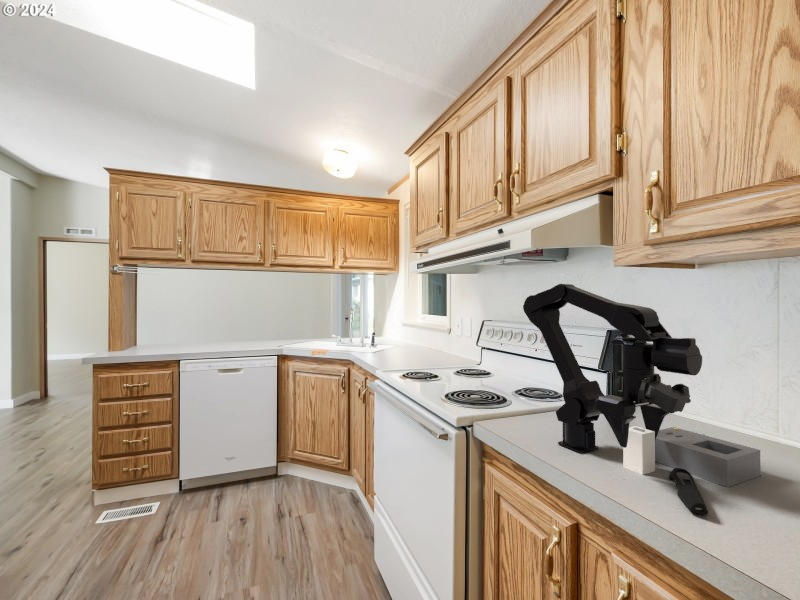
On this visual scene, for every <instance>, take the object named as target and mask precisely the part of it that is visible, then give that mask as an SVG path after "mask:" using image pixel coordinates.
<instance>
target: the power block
mask: <svg viewBox="0 0 800 600" xmlns="http://www.w3.org/2000/svg"><path fill="white" fill-rule="evenodd" d="M655 463H657V464H658V463H659V464H662V465H664V466H667V467H670V468H673V469H674V468H681V469H685V470H687V471H688V472H689V473H690V474H691V475H692V476H695V477H698V478H699V479H700V478H701V479H703V480H706V481H709V482H712V483H714V484H718V485H720V486H723V487H726V488H729V487H732V486H736V485H739V484H741V483H743V482H746V481H748V480H752V479H754V478H757V477H760V476H761V472H762V471H761V449H758V448H753V447H750V446H747V445H744V444H743V445H742V444H739V443H736V442H732V441H727V440H724V439H720V438H716V437H712V436H709V435H705V434H701V433H698V432H694V431H690V430H686V429H683V428H679V427H675V426H672V427H668V428H662V429H659V432H658V435H657V437H656V440H655Z"/></svg>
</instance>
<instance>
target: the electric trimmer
mask: <svg viewBox="0 0 800 600" xmlns="http://www.w3.org/2000/svg"><path fill="white" fill-rule="evenodd" d="M668 479H669V481H673V482H674V483H675V484H676V487H677V492H676V494H677V497H678V499H679V500H680V501H681V502H682V504H683V505H684V506H685V507H686V509H687V510H688V511H689V512H690V513H695V514H699V515H704V516H706V515H708V513H709V510H708V507H707V505H706V502H705V500H704V497H703V496H702V494H701V492H700V491H699V488H698V486H697V483H696V482H695V479H694V477H693V475H692V474H690V473H689V472H688V471H687V470H685V469H681V468H673V469H672V470H671V471H670V472H669V475H668Z"/></svg>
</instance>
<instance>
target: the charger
mask: <svg viewBox="0 0 800 600" xmlns="http://www.w3.org/2000/svg"><path fill="white" fill-rule="evenodd" d="M622 449H623V450H622V452H623V454H622V458H623V464H622V467H623V469H624V468H625V469H627V470H629V471H632V472H634V473H636V474H640V475H642V476H643V475H647V474H650V473H653V472H656V462H655V432H654V431H651V430H647V429H646V428H643V427H640V426H636V425H634V426H629V433H628V442H627V447H626V448H624V447H622Z"/></svg>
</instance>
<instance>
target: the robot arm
mask: <svg viewBox="0 0 800 600" xmlns="http://www.w3.org/2000/svg"><path fill="white" fill-rule="evenodd" d="M567 304H570V305H572V306H575V307H576V308H577V307H578V308H580V309H582V310H584V311H586V312H588V313H592V314H594V315H596V316H599V317H600V318H603V319H604V320H605V321H606V322H607V323H608V324H609V325H610V326H612V327H613V328H615V329H616V330H617V331H619V332H620V333H618V335H617V336H616V337H614V339H612V340H611V342H610V343H611V344H612V345H620V346H621V370H617V371H616V376H617V377H621V389H620V390H617V391H616V392H617V394H616V395H612V394H606V395H605V394H604V393H603V391H602V389H601V387H600V384H599V382H598V381H597V380H592V381H591V380H589V379H588V378H587V377H586V376H585V375H584V372H583V371H582V368H581V367H580V366H581V365H580V364H579V362H578V360H577V358H576V356H575V354H574V352H573V350H572V348H571V345H570V344H569V341H568V340H567V337H566V335H565V333H564V330H563V329H562V327H561V324H560V318H561V317H560V316H561V313H560V309H562V308H564V307H565V306H566V305H567ZM522 308H523V312H524V314H525V315H526V317H527V318H528V320H529V322H530V323H531V324H533V325H534V326H535V327H536V328H537V329H538V330H539V332H540V334H541V335H542V338H543V339H544V341H545V344H546V346H547V349H548V350H549V354H550V355H551V358H552V360H553V362H554V365H555V366H556V369H557V371H558V373H559V376H560V378H561V381H562V383H563V386H562V387H563V388H562V397H563V401H564V404H562V405H561V406H560V407H559V408H558V409H557V410H556V411H555V414H556V419H557V421H558V422H561V423H562V440H561V441H558V442H557V444H558V445H559V446H561V447H564V448H567V449H569V450H571V451H575V452H576V453H578V454H581V453H588V452H591V451H595V450H599V446H597V445H596V430H595V423H594V422H597V421H598V420H599V418H600V415H603V417H604V418H605V420H606V421H607V423H608V424H609V426H610V428H611V430H612V432H613V434H614V436H615V438H616V440H617V442H618V445H619V446H620V447H622V448H623V447H624V448H626V447H627V442H628V433H629V427H630V423H631V422H632V421H634V420H635V419H636V417H637V416H635V415H634V414H635V412H636V408H637V407H640V411H641V414H642V420H643V423H644V427H645V428H644V429H647V430H651V431H654V432H655V440H656V437H657V435H658V432H659V430H661V426H662V424H663V422H664V419H665V417H666V416H668V415H669V414H675V413H677V412H680V413H681V412H683V410H684V408H685V406H686V404H690V403H691V402H692V400H691V399H690V397H691V395H690V387H689V386H687V385H685V384H683V383H675V384H674V385H673V386H672V385H671V384H665V383H663V382H662V379H661V378H662V376H660V373H656V372H655V367H656V369H657V370H658V371H660V372H664V373H665V372H666V373H672V374H673V373H674V374H680V375H689V376H697V375H698V374H699V373H700V371H701V368H702V366H703V356H702V354H701V351H700V348H699V346H698V345H697V344H696V343H697V342H696V341H697V340H696V338H694V337H683V338H680V337H679V338H678V337H677V338H676V337H673V336H671V335H670V332H668V331H667V329H666V328H665V326H663V324H661V321H660V318H659V316H658V314H657V311H656V310H655V309H653V308H651V307H647V306H642V305H635V304H629V303H623V302H618V301H614V300H611V299H608V298H607V297H603V296H601V295H599V294H595V293H593V292H590V291H588V290H585V289H582V288H580V287H577V286H575V285H574V284H571V283H558V284H556V285H554V286H553V287H551V288H549V289H546V290H543V291H541V292H538V293H536V294H533V295H532V294H531V295H529V296H527V297H526V298H525V300H524V302H523V305H522ZM651 342H652V343H651Z"/></svg>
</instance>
